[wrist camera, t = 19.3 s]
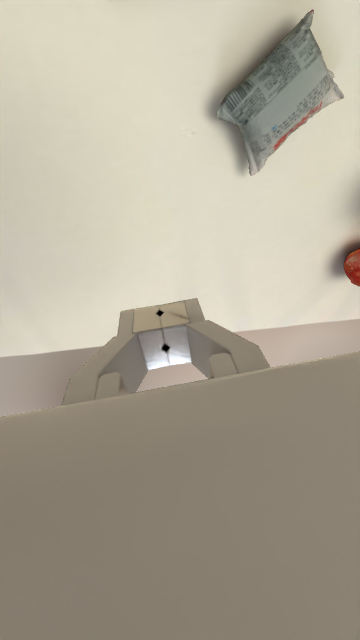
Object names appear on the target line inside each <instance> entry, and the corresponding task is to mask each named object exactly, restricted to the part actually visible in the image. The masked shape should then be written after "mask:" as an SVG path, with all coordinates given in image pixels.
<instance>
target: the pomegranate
mask: <svg viewBox="0 0 360 640" xmlns="http://www.w3.org/2000/svg"><path fill="white" fill-rule="evenodd" d="M344 270H345V273H346V275H347V277H348V278H349V279H350V280H351V283H353V284H355V285H357V286H360V248H359V249H358V250H356V251H354V252H352V253H350V254H349V255H348V256H347V258H346V260H345V262H344Z"/></svg>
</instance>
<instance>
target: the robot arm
mask: <svg viewBox="0 0 360 640" xmlns="http://www.w3.org/2000/svg"><path fill="white" fill-rule="evenodd" d="M189 362H191V363H192V364H193V365H194V366H195V367H196V368H197V369H198V370H200V371H201V372H202V373H203V374H204V375H205V376H206V377H207V378H208V379H206V380H201V381H196V382H190V383H184V384H179V385H174V386H168V387H162V388H157V389H152V390H146V391H141V392H136V391H137V389H138V387H139V385H140V384H141V382H142V380H143V378H144V377H145V375H146V374H147V372H148V370H151V369H155V368H160V367H165V366H170V365H176V364H183V363H189ZM0 640H360V351H359V352H354V353H348V354H343V355H337V356H332V357H326V358H321V359H316V360H310V361H305V362H299V363H294V364H288V365H283V366H277V367H272V368H271V367H270V366H269V364H268V362H267V361H266V359H265V357H264V355H263V353H262V352H261V350H260V348H259V346H258V345H256V344H254V343H252V342H250V341H248V340H246V339H244V338H242V337H240V336H238V335H237V334H235V333H233V332H231V331H229V330H227V329H225V328H223V327H221V326H219V325H217V324H216V323H214V322H212V321H210V320H206V321H205V318H204V316H203V313H202V310H201V307H200V304H199V302H198V299H197V298H193V299H188V300H183V301H178V302H173V303H168V304H163V305H156V306H149V307H143V308H136V309H130V310H124V311H121V313H120V319H119V327H118V334H117V336H116V337H113V338H112V339H111V340H110V341H109V342H108V343H107V344H106V345H105V346H104V347H103V348H102V349H101V350H99V351H98V352H97V353H96V354H95V355H94V356H93V357H92V358H91V359H90V360H89V361H88V362H87V363H86V364H85V365H84V366H83V367H82V368H81V369H80V370H79V371H78V372H77V373H76V374H74V375H73V377H71V378H70V379H69V382H68V385H67V388H66V392H65V395H64V398H63V401H62V404H61V406H59V407H53V408H48V409H42V410H36V411H31V412H26V413H20V414H15V415H9V416H3V417H0Z"/></svg>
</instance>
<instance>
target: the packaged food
mask: <svg viewBox="0 0 360 640" xmlns="http://www.w3.org/2000/svg"><path fill="white" fill-rule="evenodd" d="M313 14H314V10H313V9H312V10H311V11H310V12H308V13H307V14H306V16H305V17H304V18H303V19H301V21H300V22H299V23H298V24H297V25H296V27H295V28H294V29H293V30H292V31H291V32H290V33H289V34H288V35H287V36H286V37H285V38H284V39H283V40H282V41H281V42H280V43H279V44H278V45H277V46H276V48H275V49H274V50H273V51H272V52H271V53H270V54H269V55H268V56H267V57H266V58H265V60H264V61H263V62H262V63H261V64H260V66H259V67H258V68H257V69H256V70H255V71H253V72H252V73H251V74H250V75H249V76H248V77H247V78H246V80H245V81H244V82H243V83H242V84H241V85H239V86H238V87H236V88H235V89H233V90H232V91H230V92H229V93H228V94H227V96H226V97H225V98H224V100H223V102H222V103H221V105H220V108H219V109H218V111H217V114H216V115H217V116H218V117H219V119H222V120H226V121H229V122H231V123H233V124H235V125H236V126H237V127H238V128H239V129H240V131H241V134H242V137H243V141H244V146H245V150H246V154H247V159H248V163H249V170H250V171H249V173H250V175H251V176H252V175H255V174H256V173H258V172H259V171H260V170H261V168H262V167H263V166H264V164H265V162H266V160H267V158H268V157H269V156H270V155H271V154H272V153H274V152H275V151H276V150H277V149H278V148H279V147H280V146H281V145H282V143H283V142H284V141H285V140H286V139H287V138H288V136H289V135H290V134H291V133H292V132H294V131H295V130H296V129H298V128H299V127H300V126H301V125H303V124H305V123H306V122H307V120H308V119H309V118H311V117H312V116H313V115H315V114H316V113H318V112H319V111H320V110H321V109H322V108H324V107H326V106H328V105H329V104H331V103H333V102H335V101H338V100H340V99H343V98H344V95H343V94H342V92H341V91H340V90H339V88H338V86H337V85H336V83H335V82H334V81H333V78H334V74H333V73H332V72H331V71H330V70H328V69H327V67H326V65H325V62H324V60H323V57H322V53H321V51H320V48H319V46H318V44H317V42H316V40H315V38H314V36H313V34H312V32H311V30H310V26H311V24H312V19H313ZM333 86H334V87H333Z"/></svg>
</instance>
